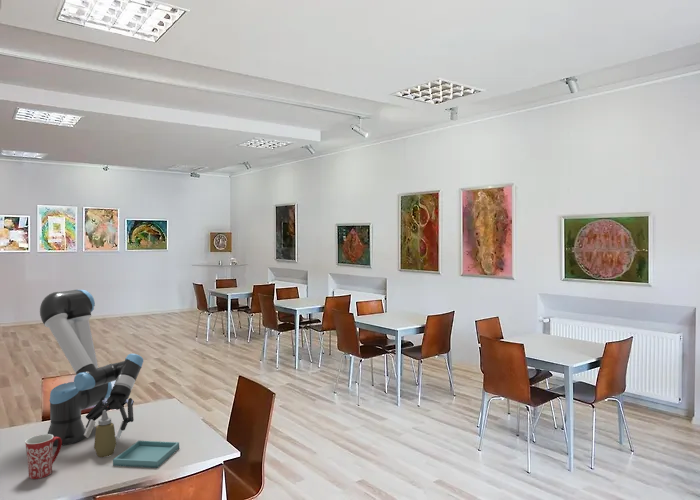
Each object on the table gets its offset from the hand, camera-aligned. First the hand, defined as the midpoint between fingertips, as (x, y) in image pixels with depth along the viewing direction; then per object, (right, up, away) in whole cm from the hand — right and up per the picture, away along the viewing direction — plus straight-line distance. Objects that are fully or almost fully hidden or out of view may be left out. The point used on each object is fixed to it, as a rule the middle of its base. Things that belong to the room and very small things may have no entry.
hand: (101, 437), depth 200 cm
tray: (+18, -8, 0) cm, 20 cm away
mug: (-15, -9, -13) cm, 21 cm away
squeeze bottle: (0, -8, +3) cm, 9 cm away
